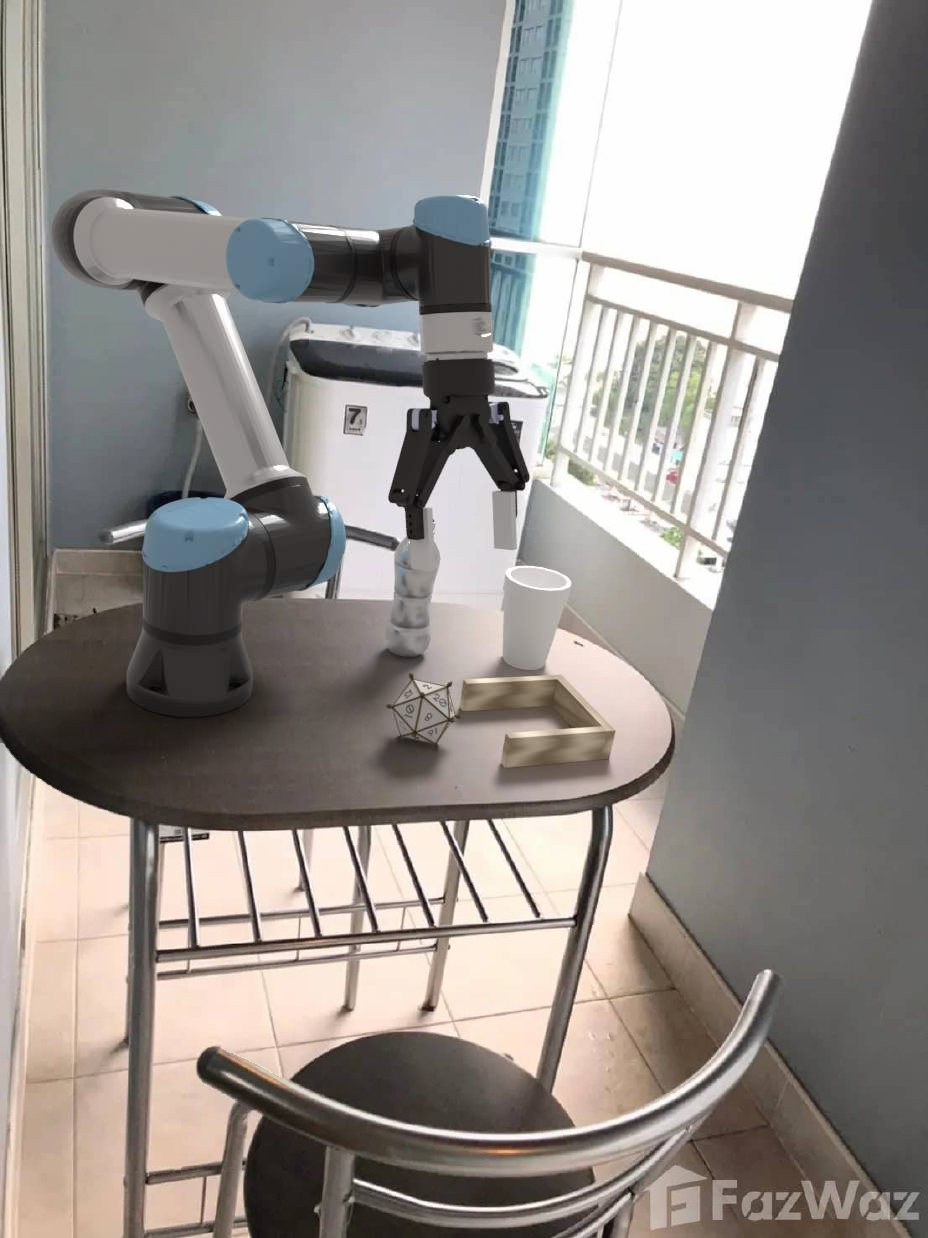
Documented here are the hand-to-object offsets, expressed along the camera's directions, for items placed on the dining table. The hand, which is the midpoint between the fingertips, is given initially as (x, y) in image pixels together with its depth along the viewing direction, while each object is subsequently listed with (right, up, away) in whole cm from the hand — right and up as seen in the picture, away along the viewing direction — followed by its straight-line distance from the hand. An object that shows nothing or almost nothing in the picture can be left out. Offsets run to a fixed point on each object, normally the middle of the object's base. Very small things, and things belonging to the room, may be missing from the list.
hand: (466, 559), depth 110 cm
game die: (-6, -21, +12) cm, 25 cm away
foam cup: (+8, -13, +38) cm, 41 cm away
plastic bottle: (-9, -12, +35) cm, 38 cm away
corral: (+8, -21, +18) cm, 28 cm away
